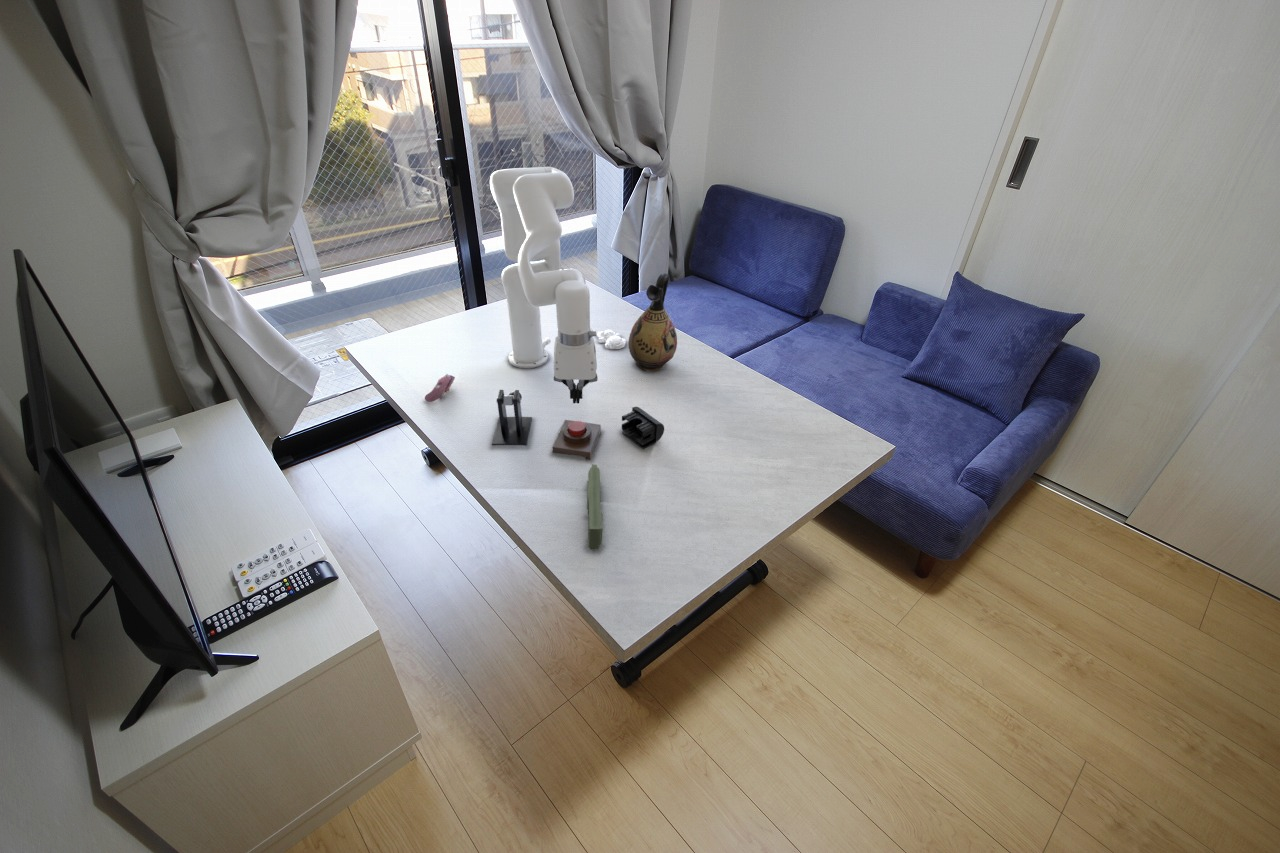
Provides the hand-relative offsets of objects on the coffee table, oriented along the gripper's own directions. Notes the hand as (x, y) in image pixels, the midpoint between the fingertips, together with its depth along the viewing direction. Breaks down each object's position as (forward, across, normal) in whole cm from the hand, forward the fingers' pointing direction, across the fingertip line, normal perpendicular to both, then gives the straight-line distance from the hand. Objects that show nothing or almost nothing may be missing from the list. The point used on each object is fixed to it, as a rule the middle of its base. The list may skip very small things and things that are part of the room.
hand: (576, 400), depth 142 cm
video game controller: (+14, +41, -22) cm, 49 cm away
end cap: (+14, -17, -4) cm, 23 cm away
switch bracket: (+14, +18, -4) cm, 23 cm away
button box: (+14, 0, 0) cm, 14 cm away
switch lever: (+7, +18, -8) cm, 21 cm away
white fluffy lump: (+14, -9, -56) cm, 59 cm away
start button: (+10, 0, 0) cm, 10 cm away
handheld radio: (+15, -5, +23) cm, 28 cm away
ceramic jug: (+14, -22, -42) cm, 49 cm away
